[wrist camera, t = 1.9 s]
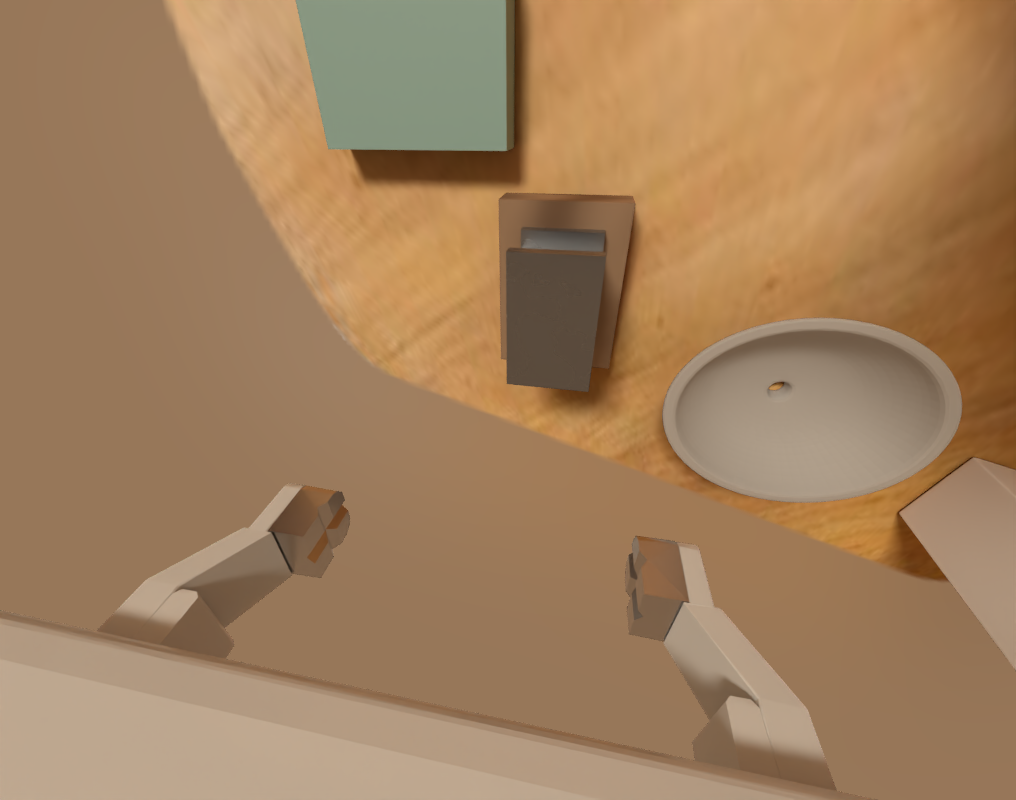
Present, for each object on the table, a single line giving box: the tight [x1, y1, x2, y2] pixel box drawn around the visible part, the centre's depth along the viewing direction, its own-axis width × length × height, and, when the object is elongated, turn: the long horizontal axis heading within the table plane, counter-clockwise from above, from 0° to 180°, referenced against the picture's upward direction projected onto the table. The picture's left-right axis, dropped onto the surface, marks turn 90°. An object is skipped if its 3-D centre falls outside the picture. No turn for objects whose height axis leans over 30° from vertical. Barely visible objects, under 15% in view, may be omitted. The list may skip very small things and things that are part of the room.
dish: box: [662, 318, 962, 502], centre depth 29 cm, size 18×14×5 cm
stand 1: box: [296, 0, 515, 151], centre depth 23 cm, size 11×8×2 cm
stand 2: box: [499, 193, 635, 369], centre depth 28 cm, size 8×11×2 cm
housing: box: [506, 227, 606, 392], centre depth 25 cm, size 5×8×6 cm, turn 0°
